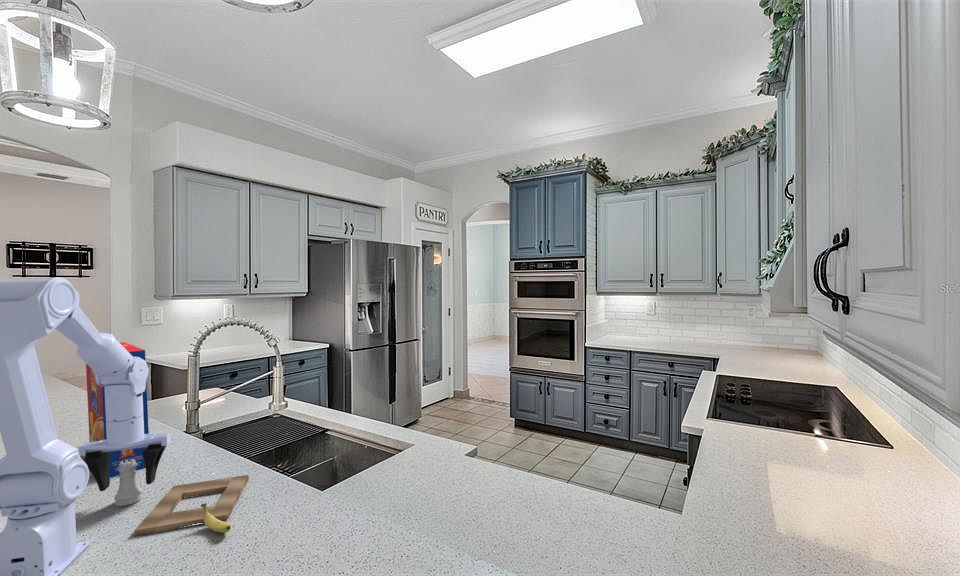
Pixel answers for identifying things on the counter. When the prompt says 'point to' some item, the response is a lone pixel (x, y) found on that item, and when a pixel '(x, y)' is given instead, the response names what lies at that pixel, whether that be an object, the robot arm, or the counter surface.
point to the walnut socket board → (166, 520)
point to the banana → (215, 522)
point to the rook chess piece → (127, 484)
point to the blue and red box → (99, 417)
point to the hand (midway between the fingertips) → (128, 485)
